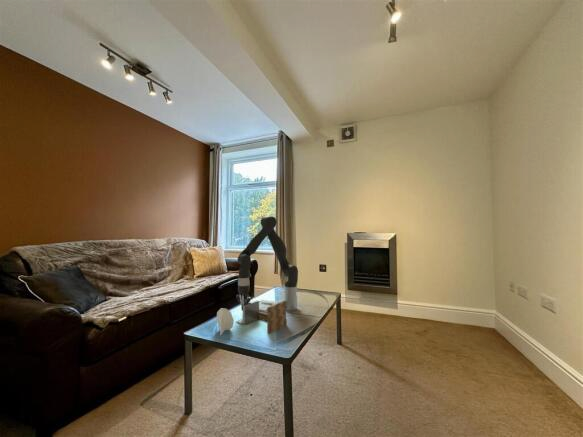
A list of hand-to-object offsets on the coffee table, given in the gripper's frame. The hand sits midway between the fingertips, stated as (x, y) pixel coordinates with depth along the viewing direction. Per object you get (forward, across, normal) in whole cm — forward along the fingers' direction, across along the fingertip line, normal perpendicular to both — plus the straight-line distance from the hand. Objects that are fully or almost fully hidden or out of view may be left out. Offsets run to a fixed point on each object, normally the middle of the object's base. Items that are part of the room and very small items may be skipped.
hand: (243, 310), depth 159 cm
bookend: (+6, -7, 0) cm, 9 cm away
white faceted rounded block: (+6, -7, +22) cm, 24 cm away
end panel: (+6, -28, -1) cm, 29 cm away
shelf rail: (+6, -14, -8) cm, 17 cm away
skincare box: (+3, -8, -21) cm, 23 cm away
